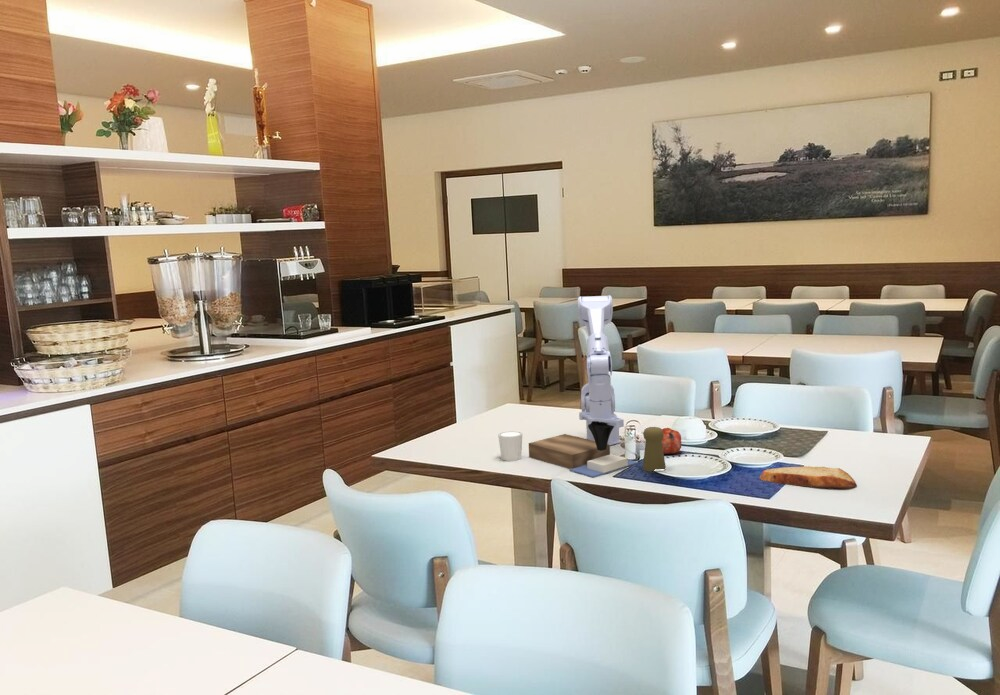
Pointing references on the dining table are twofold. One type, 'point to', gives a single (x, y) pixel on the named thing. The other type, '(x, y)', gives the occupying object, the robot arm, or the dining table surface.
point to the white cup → (510, 445)
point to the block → (607, 463)
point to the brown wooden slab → (566, 451)
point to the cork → (653, 449)
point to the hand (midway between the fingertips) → (601, 449)
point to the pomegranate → (671, 441)
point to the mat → (593, 473)
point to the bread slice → (810, 477)
